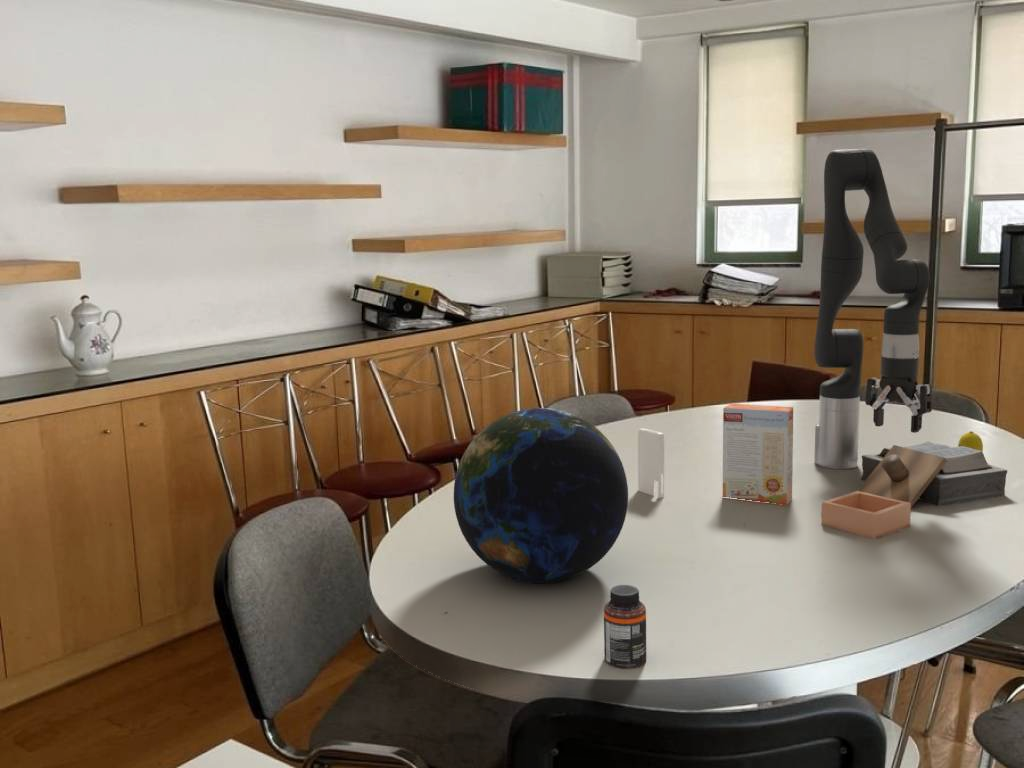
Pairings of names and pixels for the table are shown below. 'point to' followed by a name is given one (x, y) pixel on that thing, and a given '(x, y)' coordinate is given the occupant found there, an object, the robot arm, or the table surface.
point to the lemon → (971, 441)
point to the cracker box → (758, 452)
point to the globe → (540, 495)
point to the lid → (903, 474)
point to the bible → (953, 474)
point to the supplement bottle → (625, 628)
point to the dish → (866, 514)
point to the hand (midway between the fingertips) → (896, 428)
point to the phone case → (650, 461)
